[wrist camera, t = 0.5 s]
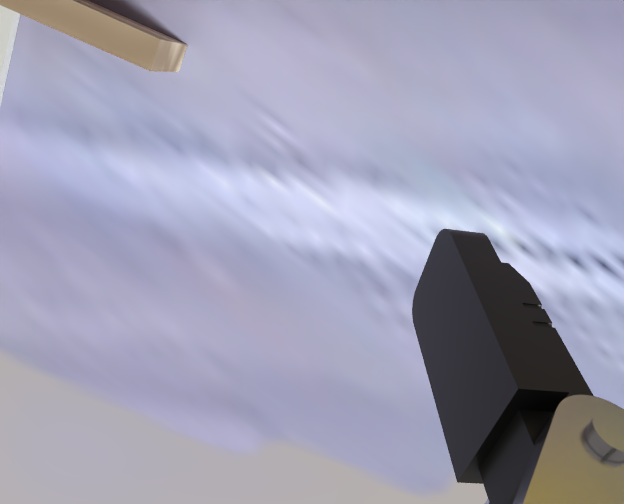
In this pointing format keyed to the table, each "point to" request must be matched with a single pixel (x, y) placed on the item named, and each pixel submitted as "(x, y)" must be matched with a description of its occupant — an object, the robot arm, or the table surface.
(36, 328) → the table surface
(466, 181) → the table surface
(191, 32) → the table surface
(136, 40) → the rack
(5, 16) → the mat
